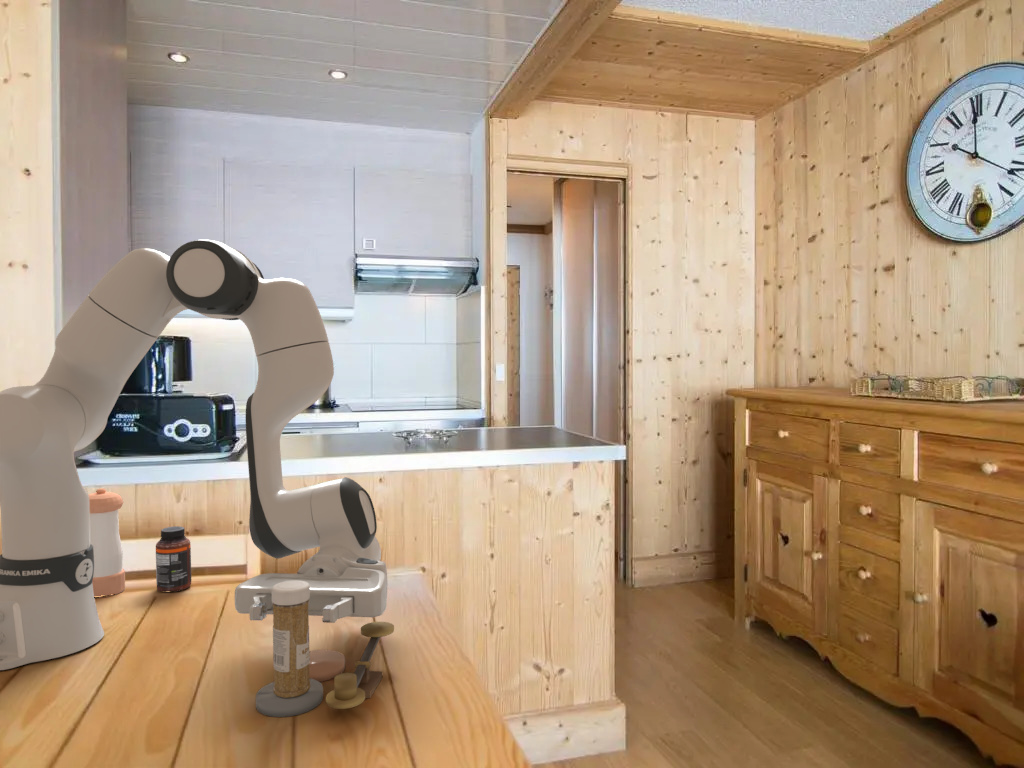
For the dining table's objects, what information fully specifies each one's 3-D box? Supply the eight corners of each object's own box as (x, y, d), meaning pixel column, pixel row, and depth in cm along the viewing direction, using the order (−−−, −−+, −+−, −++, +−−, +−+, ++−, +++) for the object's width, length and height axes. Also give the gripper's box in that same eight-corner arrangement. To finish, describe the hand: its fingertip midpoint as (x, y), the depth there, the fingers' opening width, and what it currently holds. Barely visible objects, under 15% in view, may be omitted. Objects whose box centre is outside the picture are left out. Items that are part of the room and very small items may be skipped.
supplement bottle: (178, 581, 137) (178, 523, 137) (198, 586, 134) (197, 527, 134) (149, 590, 132) (148, 529, 132) (169, 595, 129) (168, 533, 129)
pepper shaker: (88, 586, 134) (87, 485, 134) (130, 584, 136) (129, 484, 135) (72, 599, 127) (71, 492, 126) (117, 596, 128) (115, 491, 128)
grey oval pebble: (244, 715, 85) (244, 705, 85) (272, 685, 93) (272, 676, 93) (309, 718, 85) (309, 708, 85) (331, 687, 93) (331, 678, 93)
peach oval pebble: (275, 682, 94) (275, 673, 94) (298, 657, 102) (298, 648, 102) (334, 684, 94) (334, 675, 94) (352, 658, 102) (352, 650, 101)
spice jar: (315, 693, 88) (314, 586, 88) (277, 702, 86) (276, 592, 86) (304, 679, 92) (303, 576, 92) (268, 688, 90) (267, 582, 89)
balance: (320, 723, 83) (320, 679, 83) (366, 656, 102) (366, 621, 102) (358, 724, 83) (358, 681, 83) (397, 657, 102) (397, 622, 102)
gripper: (259, 558, 104) (211, 588, 90) (396, 561, 102) (369, 592, 88) (259, 601, 104) (212, 637, 90) (396, 605, 102) (369, 642, 89)
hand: (291, 615), depth 89 cm, fingers open, 8 cm apart
